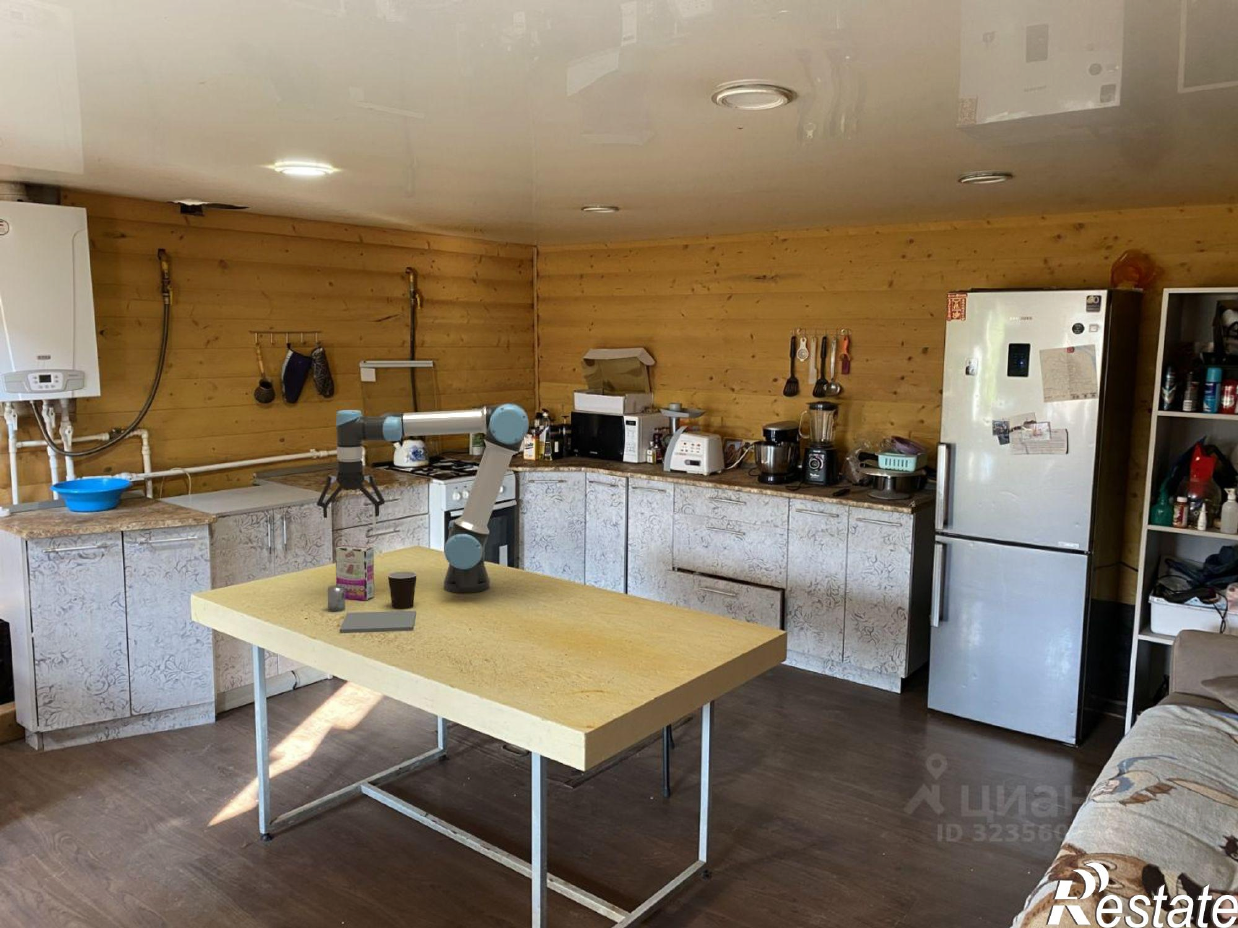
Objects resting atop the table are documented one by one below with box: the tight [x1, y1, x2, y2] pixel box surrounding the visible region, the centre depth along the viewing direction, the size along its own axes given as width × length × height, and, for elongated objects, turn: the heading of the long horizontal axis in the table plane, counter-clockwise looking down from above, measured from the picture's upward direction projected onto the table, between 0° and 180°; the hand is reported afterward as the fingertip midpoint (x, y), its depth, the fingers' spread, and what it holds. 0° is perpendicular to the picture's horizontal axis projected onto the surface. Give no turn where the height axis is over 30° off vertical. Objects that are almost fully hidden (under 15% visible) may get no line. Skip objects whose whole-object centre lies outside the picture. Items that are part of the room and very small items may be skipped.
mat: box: [339, 610, 417, 634], centre depth 259 cm, size 20×16×1 cm
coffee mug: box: [387, 570, 418, 610], centre depth 277 cm, size 12×9×10 cm
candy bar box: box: [335, 544, 375, 602], centre depth 284 cm, size 11×5×16 cm, turn 73°
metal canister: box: [327, 584, 346, 613], centre depth 271 cm, size 5×5×7 cm
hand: (351, 527), depth 280 cm, fingers open, 13 cm apart
